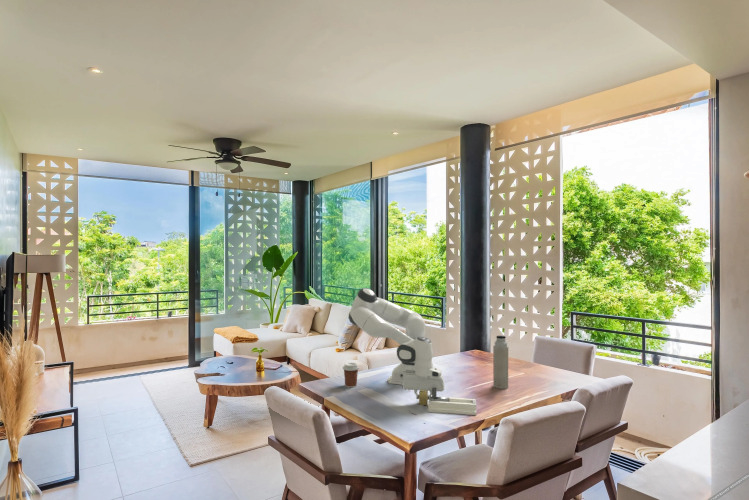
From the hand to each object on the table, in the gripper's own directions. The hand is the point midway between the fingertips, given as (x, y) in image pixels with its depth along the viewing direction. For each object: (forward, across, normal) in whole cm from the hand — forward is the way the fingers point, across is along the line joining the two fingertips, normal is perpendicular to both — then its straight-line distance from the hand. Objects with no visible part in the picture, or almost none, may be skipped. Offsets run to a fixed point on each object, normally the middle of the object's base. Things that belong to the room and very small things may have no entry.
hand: (423, 399), depth 217 cm
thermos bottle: (+2, +40, +36) cm, 54 cm away
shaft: (0, +8, -5) cm, 10 cm away
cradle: (+2, +14, -5) cm, 15 cm away
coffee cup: (+2, -42, +21) cm, 47 cm away
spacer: (+2, 0, 0) cm, 2 cm away
